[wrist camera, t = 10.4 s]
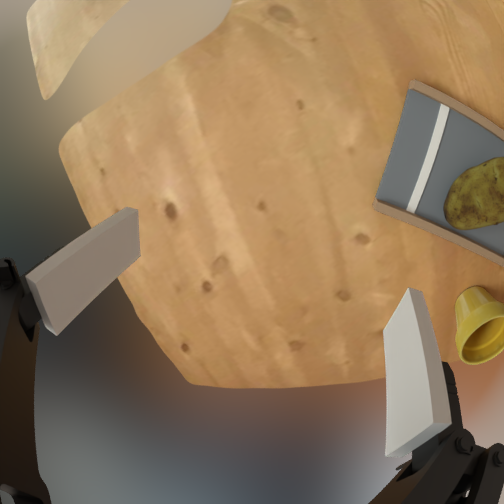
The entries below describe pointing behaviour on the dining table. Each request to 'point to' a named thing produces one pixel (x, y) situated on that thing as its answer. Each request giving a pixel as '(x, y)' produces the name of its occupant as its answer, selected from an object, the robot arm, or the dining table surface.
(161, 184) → the dining table surface
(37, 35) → the dining table surface
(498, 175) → the potato
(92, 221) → the dining table surface
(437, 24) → the dining table surface
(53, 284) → the robot arm
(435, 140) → the lane
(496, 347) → the plant pot
